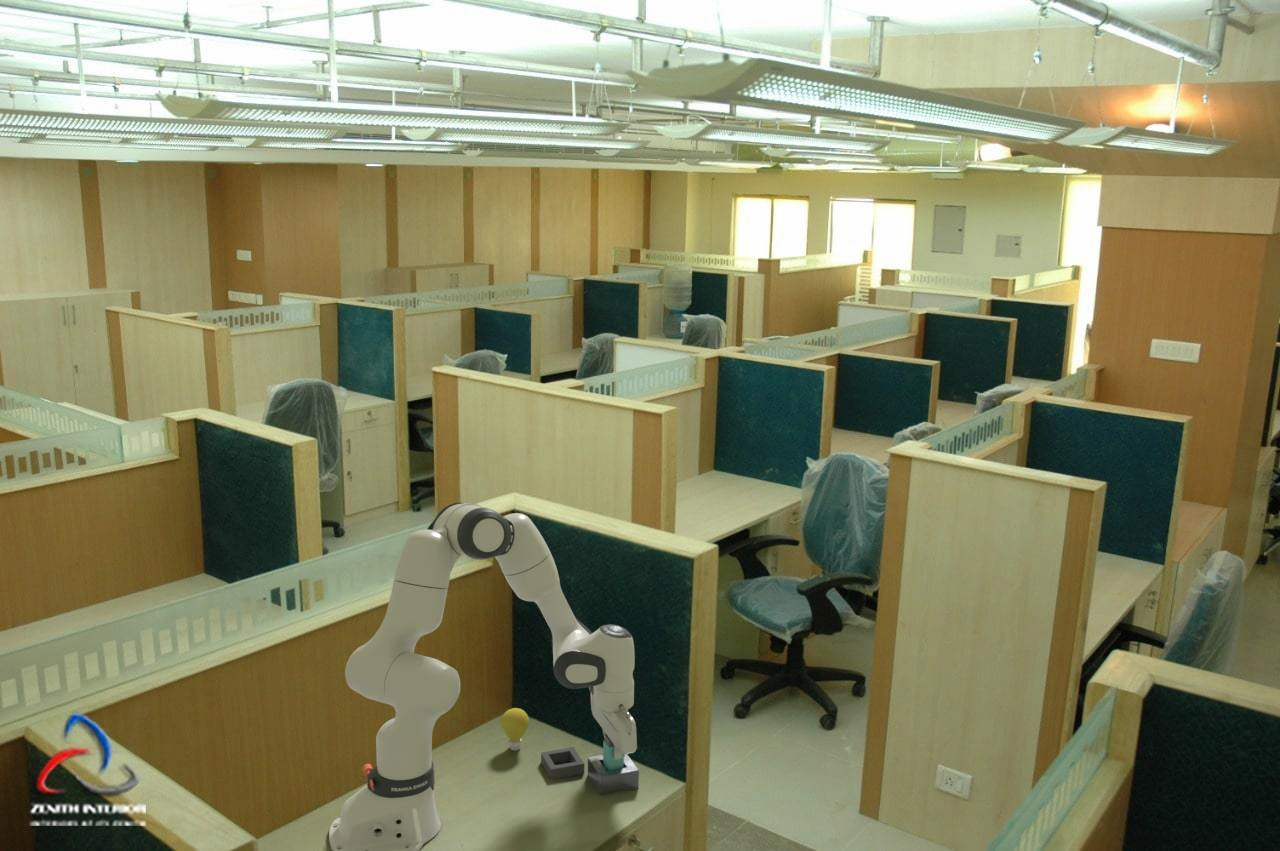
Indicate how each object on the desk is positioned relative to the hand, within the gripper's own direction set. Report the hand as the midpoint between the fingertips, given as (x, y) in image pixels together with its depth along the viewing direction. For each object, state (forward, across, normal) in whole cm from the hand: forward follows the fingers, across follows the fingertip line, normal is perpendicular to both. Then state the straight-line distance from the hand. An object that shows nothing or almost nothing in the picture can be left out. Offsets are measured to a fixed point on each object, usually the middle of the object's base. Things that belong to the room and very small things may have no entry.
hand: (613, 752), depth 239 cm
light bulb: (+7, +22, +17) cm, 29 cm away
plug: (+4, 0, 0) cm, 4 cm away
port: (+7, 0, 0) cm, 7 cm away
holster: (+7, +9, +9) cm, 15 cm away
